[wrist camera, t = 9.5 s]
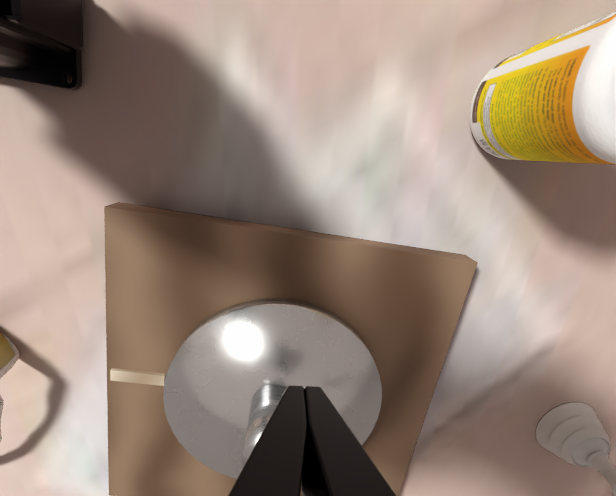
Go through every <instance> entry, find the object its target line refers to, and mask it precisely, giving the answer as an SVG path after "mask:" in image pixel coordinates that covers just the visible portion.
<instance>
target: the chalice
mask: <svg viewBox="0 0 616 496" xmlns="http://www.w3.org/2000/svg"><path fill="white" fill-rule="evenodd" d="M536 440H537V441H538V443H539V445H540V446H542V447H543V448H544V449H546V450H549V451H551V452H552V453H553V454H555V455H556V456H557V457H560V458H562V459H564V461H566V462H567V463H569V464H572V465H576V466H579V467H591V468H595V469H597V470H598V471H599V472H601V473H602V474H603V475H604V476H605V478H606V479H607V480H608V482H609V483H610V485H611V486H612V494H613V495H614V496H616V468H615V467H614V466H613V464H612V463H611V462H610V460H609V452H610V440H609V436H608V434H607V433H606V432H605V431H604V428H603V426H602V423H601V422H600V421H599V420H598V417H597V415H596V413H595V410H594V409H593V408H591V407H590V406H589V405H587V404H584V403H580V402H571V403H567V404H563V405H560V406H558V407H556V408H554V409H552V410H550V411H549V412H548V413H547V414H546V415H544V416H543V418H542V419H541V420H540V422H539V423H538V426H537V429H536Z"/></svg>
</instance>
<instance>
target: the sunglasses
mask: <svg viewBox="0 0 616 496" xmlns="http://www.w3.org/2000/svg"><path fill="white" fill-rule="evenodd" d="M19 355H20V354H19V350H18V349H17V348H16V347H15V345H14V344H13V343H12V342H11V341H10V340H9V338H8V337H7V336H5V335H3V334H2V333H1V332H0V378H1V377H2V376H3V375H5V374H6V373H7V372H8V371H9V370H10V369H11V368H12V367H13V365H14V364H15V363H16V361H17V360H18V359H19ZM2 409H3V399H2V397H1V396H0V442H1V440H2V436H1V414H2Z"/></svg>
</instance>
